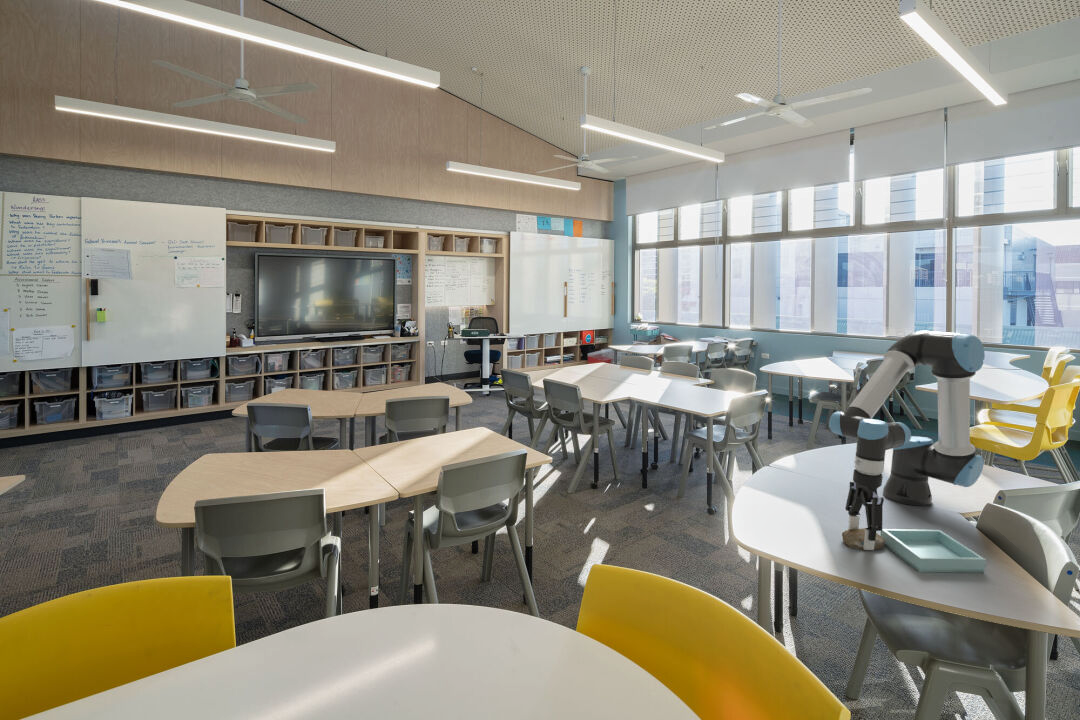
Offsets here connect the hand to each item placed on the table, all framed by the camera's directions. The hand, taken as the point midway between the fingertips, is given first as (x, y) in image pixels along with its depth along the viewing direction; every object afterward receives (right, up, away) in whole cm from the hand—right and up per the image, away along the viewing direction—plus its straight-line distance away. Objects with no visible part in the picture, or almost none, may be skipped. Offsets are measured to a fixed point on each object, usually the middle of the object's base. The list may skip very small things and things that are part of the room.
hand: (860, 542), depth 168 cm
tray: (+16, -2, -7) cm, 18 cm away
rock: (0, -1, 0) cm, 1 cm away
